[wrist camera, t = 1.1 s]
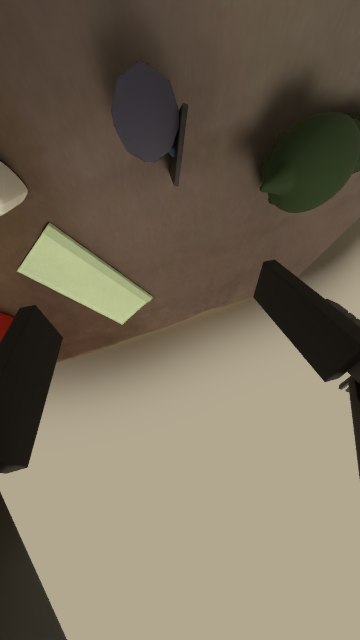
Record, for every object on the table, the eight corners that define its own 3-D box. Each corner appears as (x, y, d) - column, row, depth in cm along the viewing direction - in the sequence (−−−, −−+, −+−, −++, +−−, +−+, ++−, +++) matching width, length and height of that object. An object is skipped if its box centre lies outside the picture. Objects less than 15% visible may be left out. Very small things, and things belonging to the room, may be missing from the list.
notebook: (18, 269, 29) (16, 272, 29) (49, 222, 26) (48, 223, 25) (122, 323, 42) (122, 325, 41) (152, 296, 39) (152, 298, 38)
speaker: (194, 123, 22) (216, 114, 15) (172, 176, 25) (181, 190, 18) (133, 69, 19) (122, 25, 12) (116, 138, 22) (100, 136, 15)
